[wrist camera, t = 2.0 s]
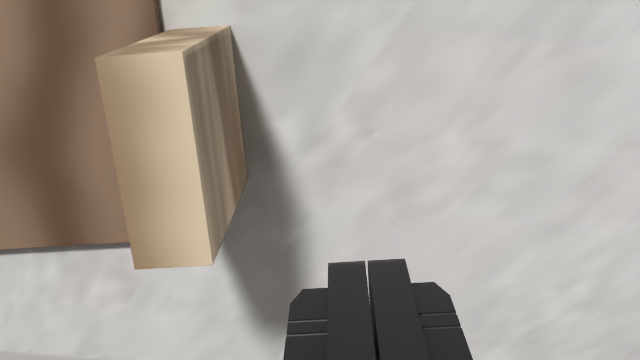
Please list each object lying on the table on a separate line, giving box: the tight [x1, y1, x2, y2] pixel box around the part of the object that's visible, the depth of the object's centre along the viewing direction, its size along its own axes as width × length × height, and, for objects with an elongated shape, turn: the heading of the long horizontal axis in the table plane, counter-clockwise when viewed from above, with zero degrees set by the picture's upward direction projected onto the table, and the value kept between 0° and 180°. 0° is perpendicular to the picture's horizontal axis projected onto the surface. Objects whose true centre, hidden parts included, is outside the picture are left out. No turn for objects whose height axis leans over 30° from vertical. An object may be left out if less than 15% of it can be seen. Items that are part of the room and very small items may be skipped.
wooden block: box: [95, 25, 248, 269], centre depth 27 cm, size 3×8×10 cm, turn 4°
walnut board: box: [0, 0, 162, 250], centre depth 31 cm, size 12×14×1 cm
